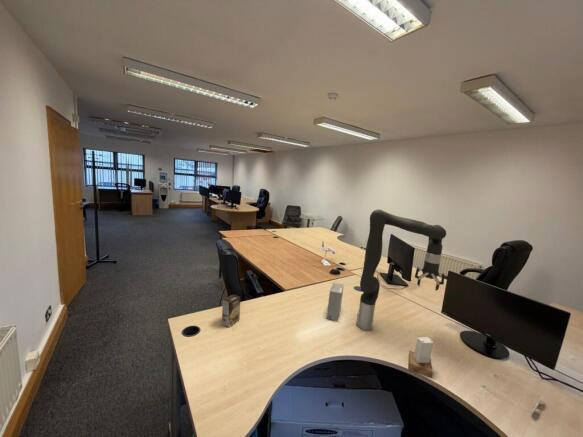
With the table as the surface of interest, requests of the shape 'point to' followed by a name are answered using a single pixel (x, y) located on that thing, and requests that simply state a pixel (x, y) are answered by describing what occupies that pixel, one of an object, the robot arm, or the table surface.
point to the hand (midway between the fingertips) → (427, 287)
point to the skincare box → (423, 350)
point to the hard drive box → (335, 301)
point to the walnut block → (419, 365)
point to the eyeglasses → (512, 400)
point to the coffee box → (231, 310)
